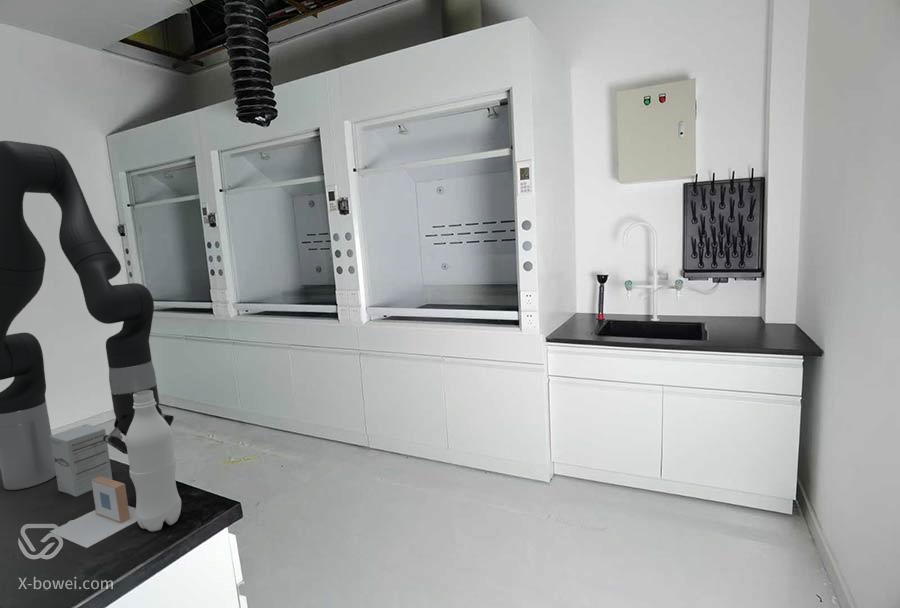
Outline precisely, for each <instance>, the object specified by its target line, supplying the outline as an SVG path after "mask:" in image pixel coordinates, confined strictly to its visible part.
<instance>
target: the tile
mask: <svg viewBox="0 0 900 608" xmlns="http://www.w3.org/2000/svg"><path fill="white" fill-rule="evenodd" d="M91 484H92V490H91V491H92V495H93V501H94V506H95V507H94V508H95V509H94V510H96V514H97V515H100V516H102V517H105V518H108V519H110V520H113V521H116V522H118V523H123V522H125V521H127V520H129V519H130V515H129V508H128V506H129V503H128V496H127V490H126V489H127V488H126V484H125V483H124V482H120V481H118V480H114V479H113V480H111V479H108V478H105V477H101V476H99V477H97V478H94V479H92V480H91Z"/></svg>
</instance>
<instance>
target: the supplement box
mask: <svg viewBox="0 0 900 608" xmlns="http://www.w3.org/2000/svg"><path fill="white" fill-rule="evenodd" d="M106 432H107V431H106V428H104V427H98V426H96V425H92V424H87V423H86V424H82V425H78V426H77V427H74V428H73V427H72V428H70V429H67V430H64V431H60V432H57V433H54V434H52V435H51V436H50V440H51V446H52V452H53V458H54V465H55V471H56V482H57V490H58V492H62V493H66V494H69V495H71V496H73V497H76V498H77V497H79V496H81V495H84V494H86V493H88V492H90V491H93V490H92V484H91V480H92V479H94V478H97V477H99V476H101V477H105V478H108V479H111V480H114V479H113V474H112V468H111V461H110V460H111V459H110V454H109V444H108V443H107V442H105V441H104V440H103V438H104V436H105V435H107V433H106Z"/></svg>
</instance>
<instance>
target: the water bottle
mask: <svg viewBox="0 0 900 608" xmlns="http://www.w3.org/2000/svg"><path fill="white" fill-rule="evenodd" d="M133 398H134V403H133V404H134V406H133V409H135V414H134V418H133V420H132V423H131V425H130V427H129V429H128V432H127V435H126V436H125V440H124V441H125V445H126V446H127V452H128V454H127V457H128V464H129V469H128V470H129V478H130V479H131V481H132V484H133V485H134V490H135V497H136V499H135V500H136V504H135V508H136V510H135V513H136V518H137V524H138V525H139V527H140V528H141V529H143V530H144V529H145V530H148V532H156V531H157V532H158V531H160V530H162V528H163V525H164V522H165V523H166V525H169V526H172V525H174V524H175V523H176V522H178V519H179V517H180V515H181V509H182V498H181V497H180V495H179V492H178V488H177V483H176V467H177V459H176V457H175V452H174V442H173V432H172V431H173V430H172V429H171V425H170V426H169V425H168V423H167V422H166V421H165V420H164V418H163V417H162V416H161V415H160V414H159V413H158V411H157V409H156V407H155V405H156V402H155V399H154V395H153V391H152V390H146V391H141V392H137V393H135V394H133Z"/></svg>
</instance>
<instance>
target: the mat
mask: <svg viewBox="0 0 900 608" xmlns="http://www.w3.org/2000/svg"><path fill="white" fill-rule="evenodd" d="M128 508H129V515H130V519H129V520H127V521H125V522H123V523H118V522H116V521H113V520H110V519H108V518H105V517H102V516H100V515H97V514H96V509H94V510H92V511H90V512H87V513H85V514H84V515H82V516H79V517H78V518H75V519H73V520H71V521H69V522H66V523H64V524H62V525H60V526H58V527H55V528H54V529H51V530H50V531H49V533H50V534H54V535H56V536H58V537H61V538H63V539H65V540H68V541H69V542H72V543H75V544H77V545H79V546H81V547H83V548H86V549H87V548H90V547H92V546H94V545H95V544H97V543H100V542H101V541H103V540H104V539H106V538H108V537H110V536H112V535H114V534H116V533H118V532H120V531H122V530H124V529H125V528H127V527H129V526H131V525H133V524H135V523H136V522H137V518H136V513H135V510H136V507H133V506H130V505H128ZM137 523H138V522H137Z"/></svg>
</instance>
